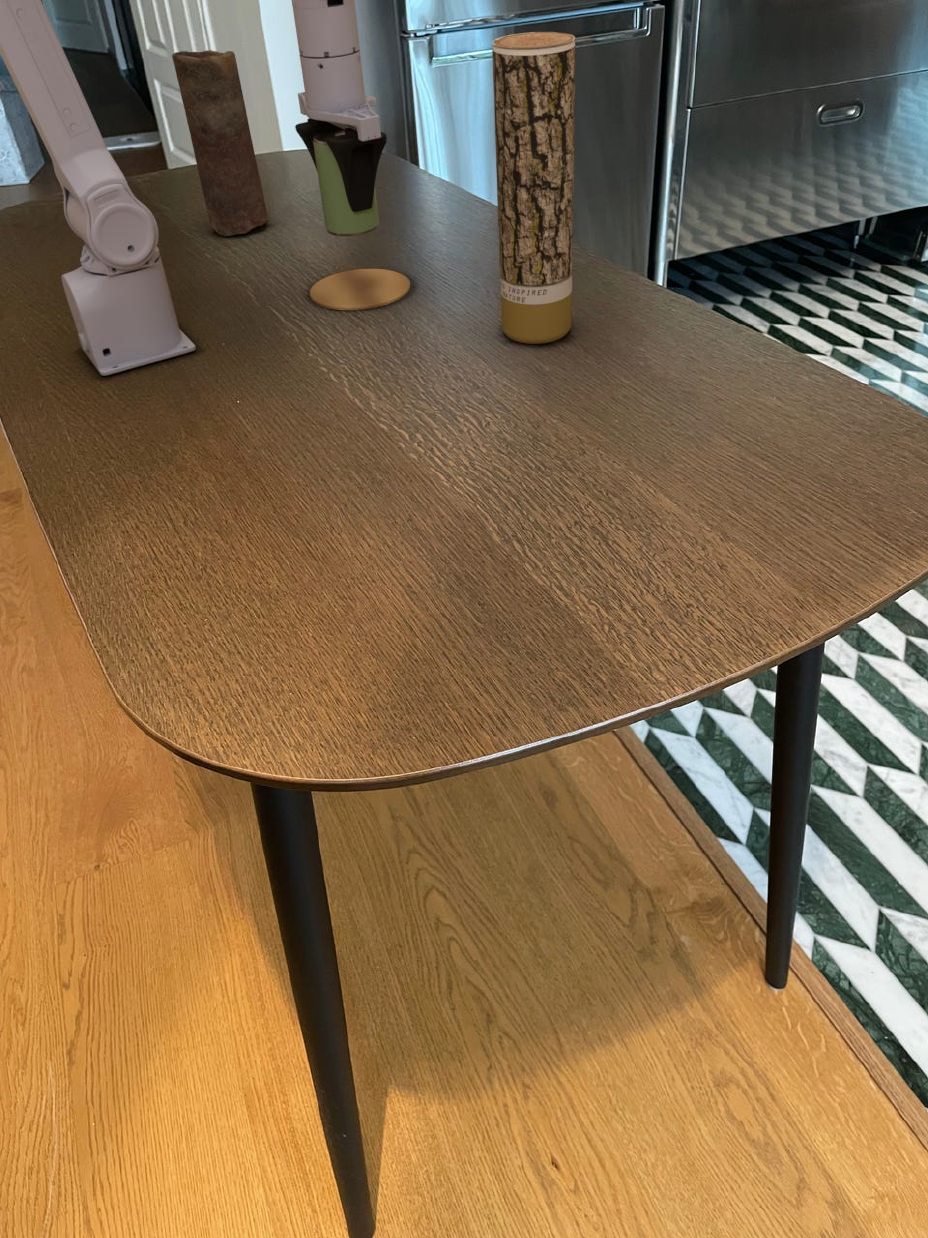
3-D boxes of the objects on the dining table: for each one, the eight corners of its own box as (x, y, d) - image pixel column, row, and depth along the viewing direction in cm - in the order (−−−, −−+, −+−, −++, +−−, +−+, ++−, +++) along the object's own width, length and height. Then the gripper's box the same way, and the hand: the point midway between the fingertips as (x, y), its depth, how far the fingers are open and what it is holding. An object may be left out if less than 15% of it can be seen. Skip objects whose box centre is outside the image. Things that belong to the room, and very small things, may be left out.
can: (340, 240, 99) (327, 145, 93) (317, 226, 103) (303, 134, 97) (388, 228, 101) (378, 134, 95) (364, 214, 105) (353, 124, 99)
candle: (205, 224, 126) (165, 49, 113) (259, 213, 128) (226, 40, 115) (219, 241, 121) (179, 59, 108) (276, 229, 123) (243, 49, 110)
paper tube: (566, 348, 92) (570, 47, 76) (496, 345, 93) (485, 49, 77) (575, 318, 97) (579, 30, 81) (508, 316, 98) (499, 32, 82)
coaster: (336, 319, 100) (335, 316, 100) (294, 287, 108) (293, 284, 107) (428, 292, 104) (428, 290, 104) (382, 263, 112) (381, 261, 111)
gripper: (403, 55, 88) (416, 210, 97) (335, 35, 98) (353, 178, 106) (332, 68, 85) (353, 226, 94) (270, 46, 95) (294, 191, 104)
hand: (349, 201), depth 100 cm, fingers closed on can, 5 cm apart
